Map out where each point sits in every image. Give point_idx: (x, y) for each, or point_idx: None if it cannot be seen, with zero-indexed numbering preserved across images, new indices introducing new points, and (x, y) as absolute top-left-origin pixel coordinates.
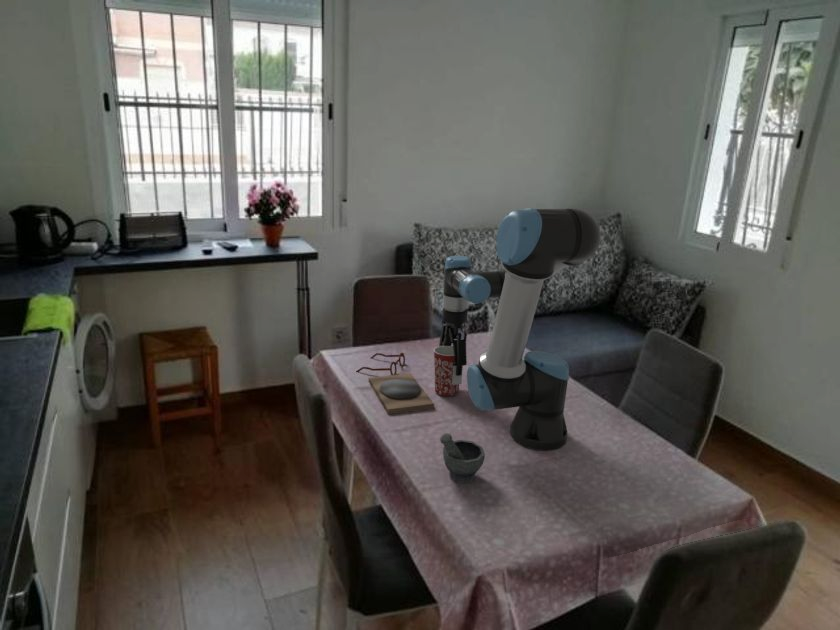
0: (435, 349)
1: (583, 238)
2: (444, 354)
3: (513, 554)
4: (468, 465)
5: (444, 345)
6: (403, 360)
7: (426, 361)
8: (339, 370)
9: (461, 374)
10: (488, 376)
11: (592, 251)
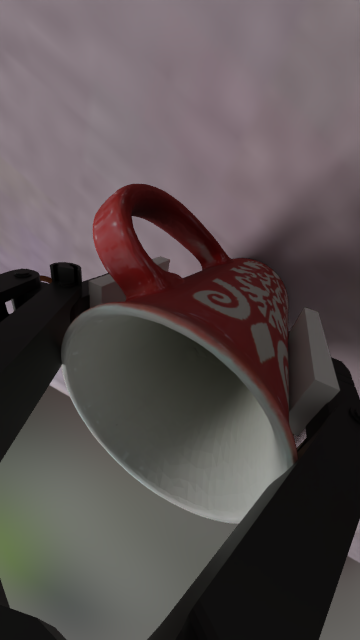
0: (100, 432)
1: None
2: (119, 341)
3: None
4: None
5: (59, 365)
6: (40, 280)
7: (38, 207)
8: (65, 388)
9: (345, 368)
10: None
11: None
